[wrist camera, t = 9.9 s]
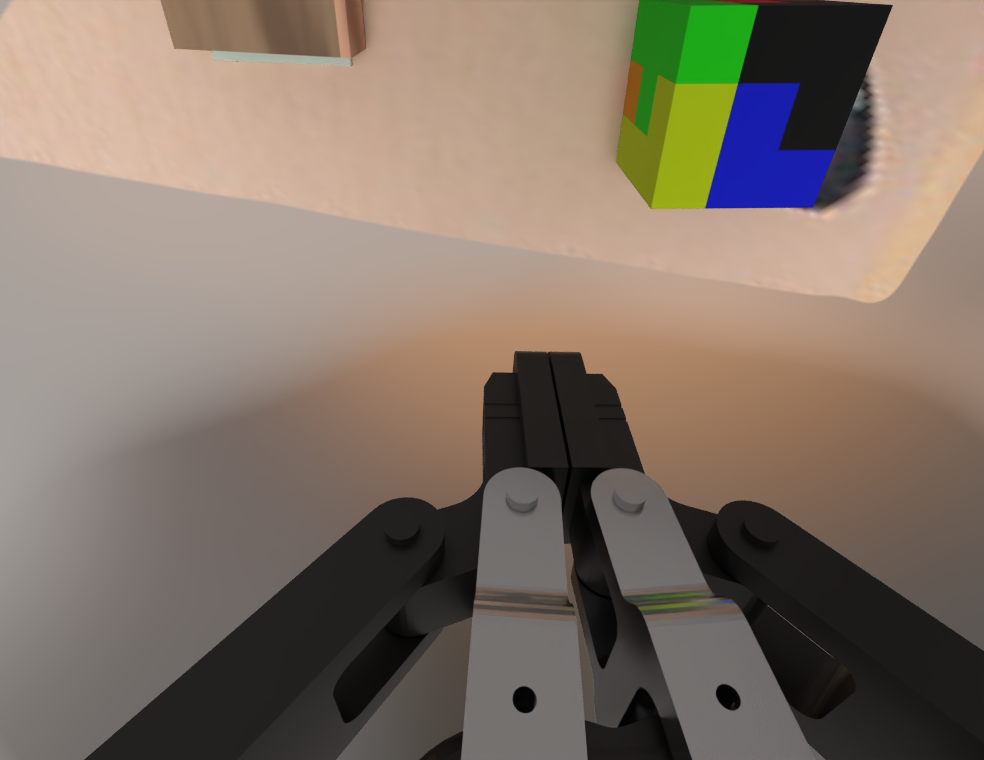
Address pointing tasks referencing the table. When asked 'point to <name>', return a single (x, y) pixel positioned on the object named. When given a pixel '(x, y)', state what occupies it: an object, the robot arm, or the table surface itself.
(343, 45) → the walnut block
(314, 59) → the sage pad
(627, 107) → the puzzle toy
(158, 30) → the table surface
